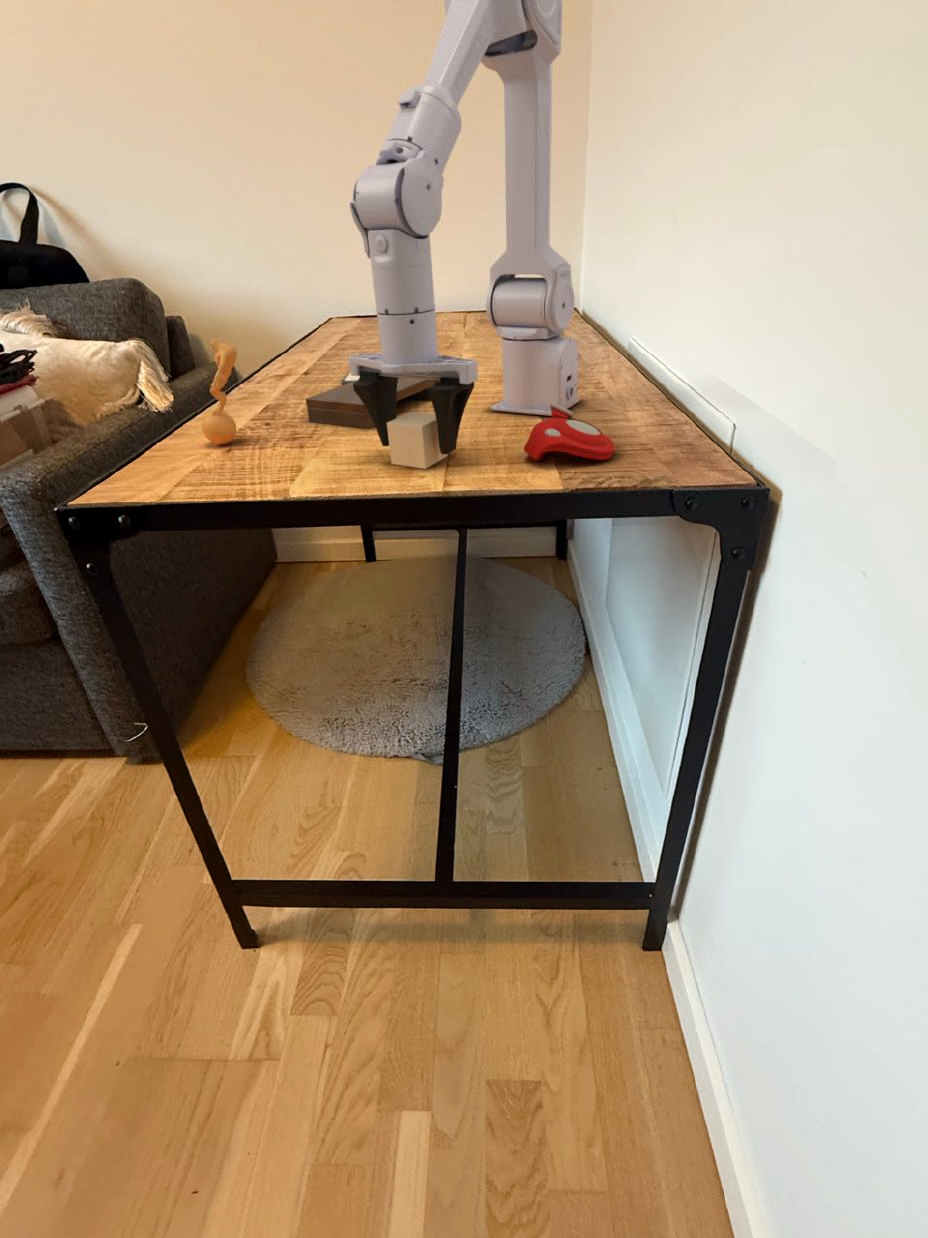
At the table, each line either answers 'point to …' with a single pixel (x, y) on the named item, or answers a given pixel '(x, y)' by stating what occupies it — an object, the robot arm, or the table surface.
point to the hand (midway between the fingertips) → (418, 447)
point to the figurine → (220, 396)
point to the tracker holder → (568, 437)
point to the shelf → (358, 403)
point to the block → (414, 440)
